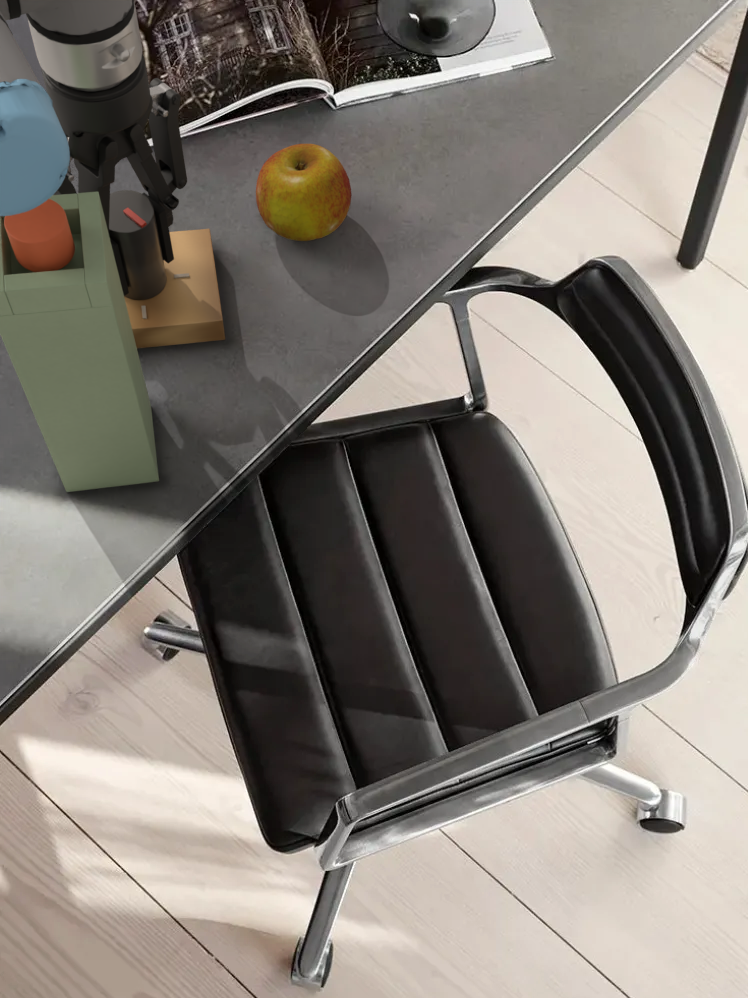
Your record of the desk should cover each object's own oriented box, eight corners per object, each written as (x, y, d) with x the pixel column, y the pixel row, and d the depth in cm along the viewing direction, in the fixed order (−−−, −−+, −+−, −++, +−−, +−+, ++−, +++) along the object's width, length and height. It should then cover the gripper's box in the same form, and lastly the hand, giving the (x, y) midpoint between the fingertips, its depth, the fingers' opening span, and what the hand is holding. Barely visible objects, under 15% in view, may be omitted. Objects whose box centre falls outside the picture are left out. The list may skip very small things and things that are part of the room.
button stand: (66, 492, 99) (-18, 293, 74) (61, 415, 102) (-22, 200, 77) (159, 481, 100) (106, 282, 75) (151, 406, 103) (98, 191, 79)
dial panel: (73, 355, 105) (66, 334, 102) (66, 262, 109) (59, 239, 106) (225, 340, 107) (222, 319, 104) (212, 249, 111) (209, 226, 108)
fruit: (306, 172, 116) (305, 110, 109) (369, 222, 114) (373, 163, 107) (238, 221, 113) (232, 161, 106) (302, 273, 111) (301, 216, 104)
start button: (16, 276, 76) (4, 245, 73) (13, 230, 78) (2, 198, 75) (77, 270, 77) (68, 240, 74) (73, 225, 78) (64, 194, 76)
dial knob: (103, 279, 105) (84, 208, 96) (142, 251, 106) (126, 178, 98) (138, 309, 104) (122, 239, 95) (177, 280, 105) (165, 209, 97)
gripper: (30, 149, 79) (91, 349, 100) (216, 27, 85) (237, 239, 106) (-41, 91, 80) (34, 301, 101) (148, -24, 87) (181, 195, 108)
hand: (138, 269), depth 104 cm, fingers closed on dial knob, 5 cm apart
